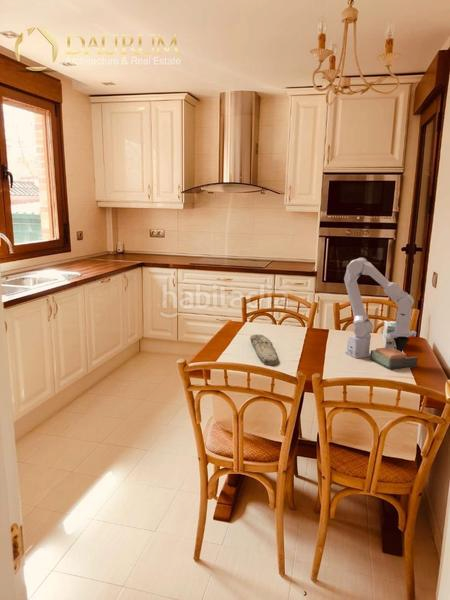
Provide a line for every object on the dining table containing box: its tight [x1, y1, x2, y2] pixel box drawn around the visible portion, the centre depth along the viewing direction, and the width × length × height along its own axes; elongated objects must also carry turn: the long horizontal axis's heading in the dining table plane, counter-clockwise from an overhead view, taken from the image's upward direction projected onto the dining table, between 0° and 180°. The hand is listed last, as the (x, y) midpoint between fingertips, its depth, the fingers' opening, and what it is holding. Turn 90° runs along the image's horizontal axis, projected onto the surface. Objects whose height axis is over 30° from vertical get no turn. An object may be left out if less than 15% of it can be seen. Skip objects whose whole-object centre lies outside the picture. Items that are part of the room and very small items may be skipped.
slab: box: [375, 347, 407, 360], centre depth 185 cm, size 8×9×2 cm
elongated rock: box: [249, 334, 279, 366], centre depth 196 cm, size 35×5×10 cm
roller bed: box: [369, 348, 419, 371], centre depth 186 cm, size 14×13×5 cm
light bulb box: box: [382, 320, 396, 348], centre depth 211 cm, size 11×7×11 cm, turn 168°
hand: (399, 352), depth 187 cm, fingers closed
